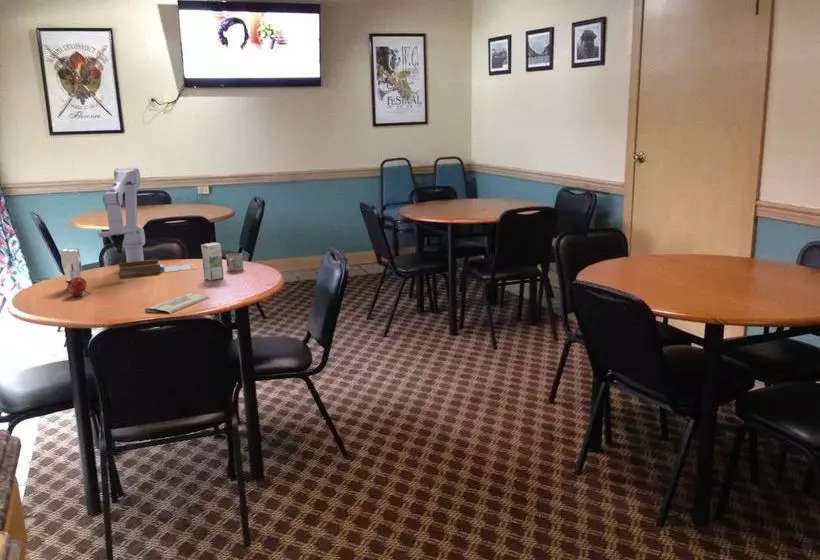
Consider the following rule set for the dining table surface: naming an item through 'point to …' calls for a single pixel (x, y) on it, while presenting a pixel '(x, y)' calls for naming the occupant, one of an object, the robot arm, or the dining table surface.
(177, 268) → the cover plate
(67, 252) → the white tapered container
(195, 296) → the newspaper
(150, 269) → the case
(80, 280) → the pomegranate
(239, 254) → the mug
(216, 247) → the syrup box
